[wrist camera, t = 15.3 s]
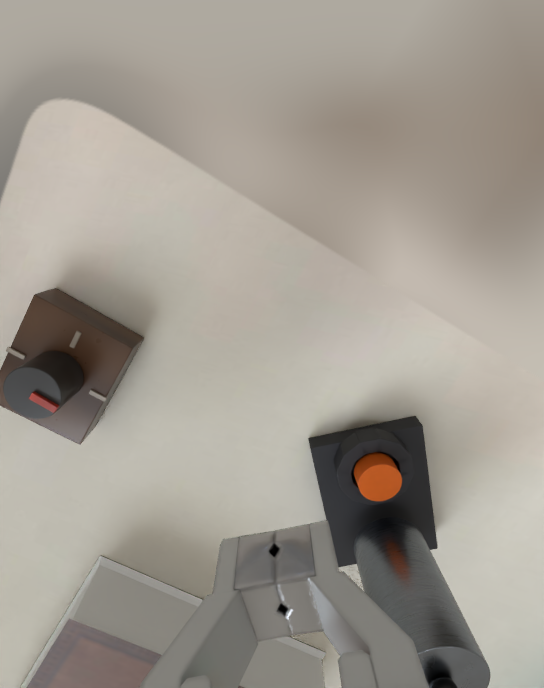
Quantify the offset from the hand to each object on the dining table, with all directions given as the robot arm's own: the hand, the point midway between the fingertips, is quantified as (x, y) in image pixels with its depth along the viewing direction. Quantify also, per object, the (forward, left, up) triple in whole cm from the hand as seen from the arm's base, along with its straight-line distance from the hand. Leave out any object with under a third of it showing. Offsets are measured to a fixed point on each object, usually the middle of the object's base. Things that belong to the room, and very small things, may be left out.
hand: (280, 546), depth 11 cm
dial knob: (-1, -17, -20) cm, 26 cm away
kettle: (+22, +5, -19) cm, 30 cm away
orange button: (+14, +6, -20) cm, 25 cm away
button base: (+18, +6, -23) cm, 30 cm away
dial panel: (-1, -17, -23) cm, 28 cm away
